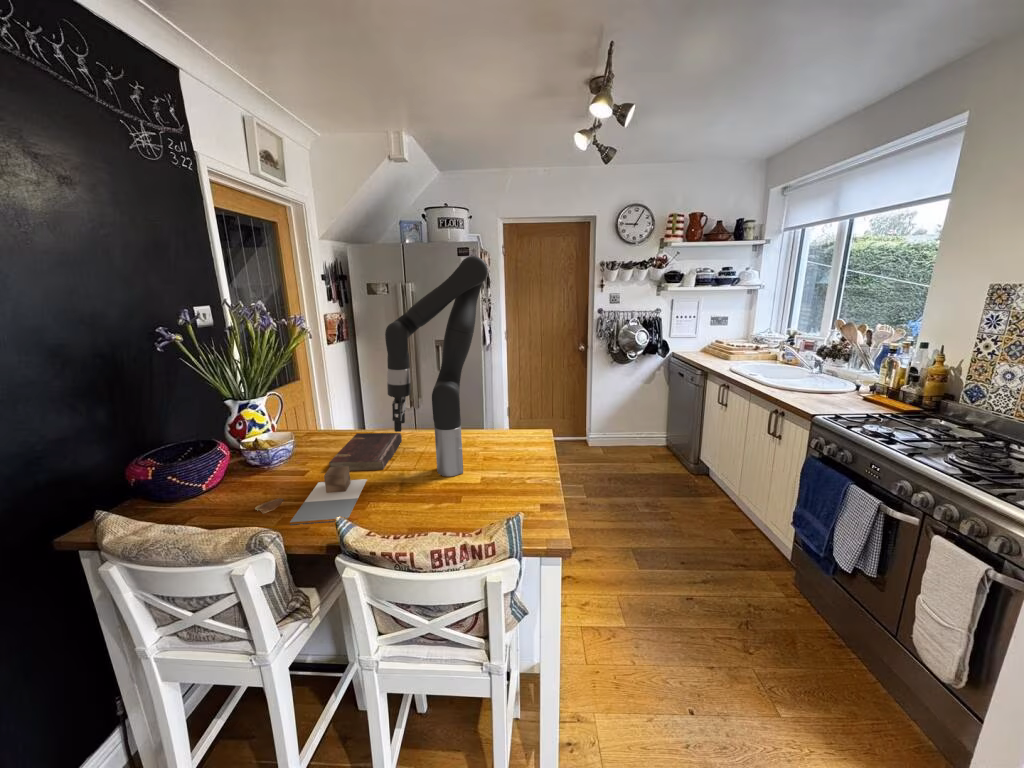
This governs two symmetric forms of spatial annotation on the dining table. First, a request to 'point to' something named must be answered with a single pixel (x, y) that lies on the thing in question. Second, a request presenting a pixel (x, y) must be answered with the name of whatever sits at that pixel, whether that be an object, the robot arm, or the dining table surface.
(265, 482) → the dining table surface
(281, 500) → the shard
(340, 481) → the walnut cube
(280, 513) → the dining table surface
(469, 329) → the robot arm
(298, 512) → the board
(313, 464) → the dining table surface
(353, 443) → the hardback book
